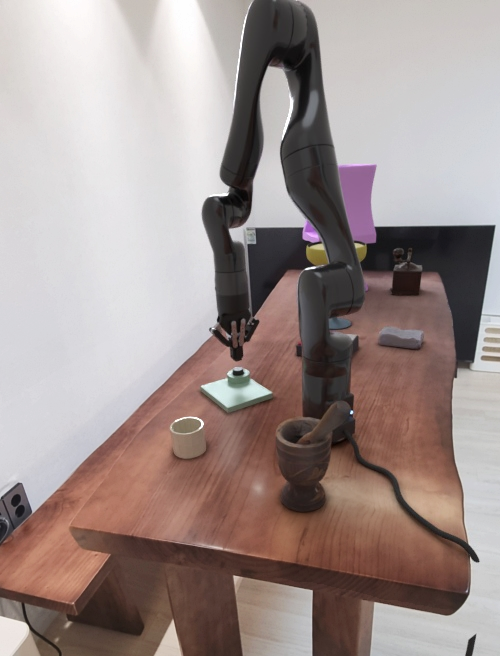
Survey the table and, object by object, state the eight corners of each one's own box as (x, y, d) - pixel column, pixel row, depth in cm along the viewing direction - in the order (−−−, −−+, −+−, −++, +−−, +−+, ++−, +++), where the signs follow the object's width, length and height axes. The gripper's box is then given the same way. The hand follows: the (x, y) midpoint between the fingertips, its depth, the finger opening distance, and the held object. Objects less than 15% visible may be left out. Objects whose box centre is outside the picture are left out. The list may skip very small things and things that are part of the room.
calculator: (308, 330, 138) (359, 332, 131) (309, 343, 139) (359, 347, 133) (295, 343, 129) (348, 346, 123) (296, 357, 131) (348, 361, 124)
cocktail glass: (319, 336, 143) (319, 252, 131) (298, 319, 158) (297, 243, 147) (372, 328, 147) (378, 246, 135) (347, 312, 162) (350, 237, 151)
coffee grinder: (390, 288, 187) (394, 241, 179) (419, 288, 184) (425, 241, 176) (388, 298, 174) (392, 249, 166) (419, 299, 171) (425, 249, 163)
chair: (303, 283, 201) (302, 167, 180) (352, 278, 204) (357, 163, 183) (318, 296, 182) (319, 168, 161) (372, 291, 185) (380, 164, 164)
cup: (212, 451, 90) (209, 427, 88) (181, 462, 87) (177, 438, 85) (197, 437, 95) (194, 413, 93) (168, 447, 92) (164, 423, 90)
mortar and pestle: (353, 490, 78) (359, 383, 68) (343, 525, 71) (348, 410, 61) (286, 478, 81) (283, 375, 72) (271, 510, 74) (265, 400, 65)
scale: (273, 397, 109) (273, 386, 107) (228, 413, 103) (227, 401, 102) (242, 377, 120) (242, 366, 118) (200, 390, 114) (198, 379, 113)
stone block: (384, 340, 142) (376, 345, 133) (386, 324, 140) (378, 328, 132) (424, 346, 137) (418, 351, 128) (427, 330, 135) (422, 334, 127)
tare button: (245, 374, 115) (245, 369, 114) (236, 377, 114) (235, 371, 113) (240, 371, 117) (239, 365, 116) (231, 374, 115) (230, 368, 115)
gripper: (213, 298, 100) (220, 372, 108) (265, 287, 105) (268, 358, 114) (198, 291, 105) (206, 362, 113) (248, 281, 111) (252, 349, 119)
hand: (237, 360), depth 113 cm, fingers closed
